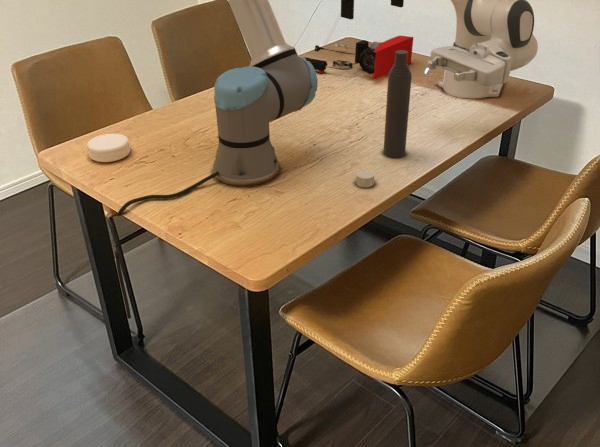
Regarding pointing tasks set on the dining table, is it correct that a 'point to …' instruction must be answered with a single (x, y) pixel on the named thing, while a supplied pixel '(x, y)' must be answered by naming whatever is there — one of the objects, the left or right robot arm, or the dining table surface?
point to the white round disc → (108, 147)
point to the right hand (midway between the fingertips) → (442, 71)
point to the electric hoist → (370, 56)
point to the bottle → (397, 106)
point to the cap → (365, 178)
